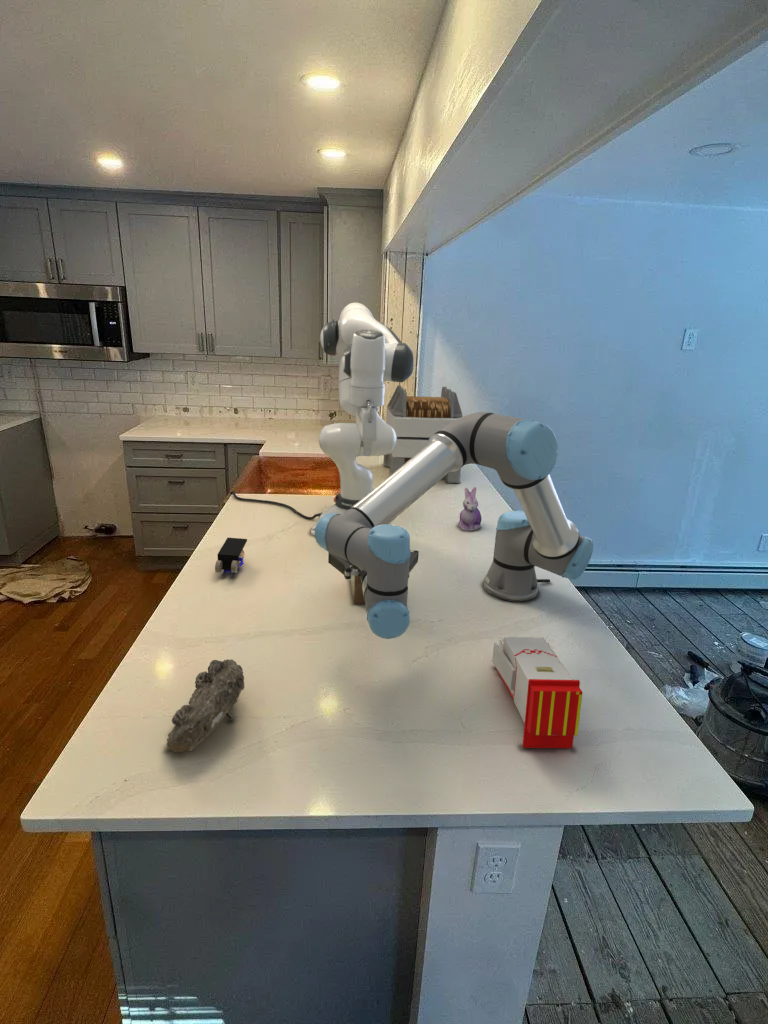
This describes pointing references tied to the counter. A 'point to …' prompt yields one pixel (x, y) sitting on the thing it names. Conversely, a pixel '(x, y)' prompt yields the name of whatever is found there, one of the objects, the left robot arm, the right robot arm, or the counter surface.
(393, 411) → the transformer
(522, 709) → the toy
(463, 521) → the figurine
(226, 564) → the figurine character
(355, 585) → the chest
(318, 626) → the counter surface
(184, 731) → the fossil
